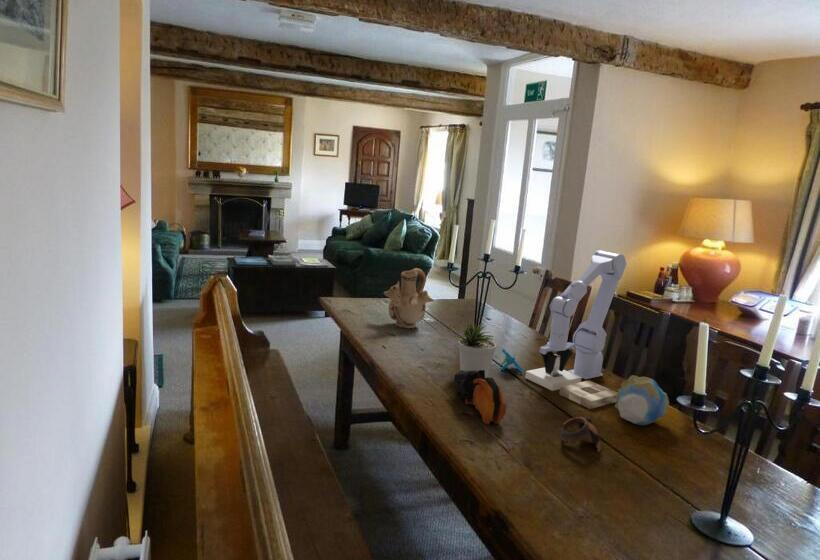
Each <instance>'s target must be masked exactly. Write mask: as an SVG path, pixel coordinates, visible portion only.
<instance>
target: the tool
mask: <svg viewBox="0 0 820 560" xmlns="http://www.w3.org/2000/svg"><path fill="white" fill-rule="evenodd" d="M453 380H454V381H453V382H454V383H456V384H457V385H456V387H455V389H456V395H455V396H456V397H459V398H461V399H462V398H463V399H465V400H464V403H465V405H471V406H472V405H473V406H474V407H475V409H476V410H477V411H479V415H481V419H482V422H483V423H484V424H485V425H488V426H489V425H490V423H491V420H492V423H494V424H495V425H497V424H498V423H500V422H501V421H502V420H503V419H504V417H505V415H506V412H507V403H506V401H505V399H504V397H503V394H502V391H501V388H500V386H499V384H498V383H497V382H496V381H495V379H494V378H493V377H485V370H479V371H476V370H471V371H463V370H460V371H459V372H456V373H455V374H454V379H453Z"/></svg>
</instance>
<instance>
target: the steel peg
mask: <svg viewBox="0 0 820 560" xmlns="http://www.w3.org/2000/svg"><path fill="white" fill-rule="evenodd" d="M554 355H556V356H557V358H556V360H555V362H554V365H553V370H552V373H551V374H549V375H550V376H553V377H558V374H559V367H560V359H561V356H560V355H557V353H556V354H554Z"/></svg>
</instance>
